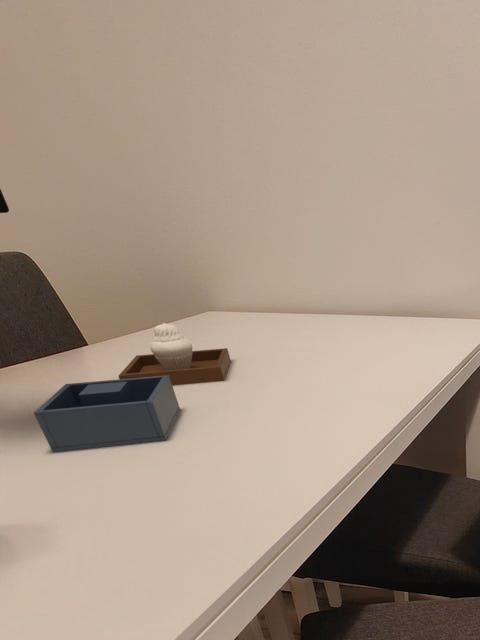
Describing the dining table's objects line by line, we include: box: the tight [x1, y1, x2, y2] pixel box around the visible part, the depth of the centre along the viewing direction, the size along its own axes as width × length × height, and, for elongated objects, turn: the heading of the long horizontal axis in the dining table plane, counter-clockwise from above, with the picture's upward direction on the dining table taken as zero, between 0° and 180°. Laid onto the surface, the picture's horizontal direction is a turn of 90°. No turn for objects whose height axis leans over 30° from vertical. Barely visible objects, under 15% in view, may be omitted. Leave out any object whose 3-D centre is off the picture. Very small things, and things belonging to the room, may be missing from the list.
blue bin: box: [33, 375, 181, 454], centre depth 72 cm, size 12×12×5 cm
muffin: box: [149, 322, 193, 370], centre depth 92 cm, size 6×6×7 cm
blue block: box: [79, 381, 135, 407], centre depth 72 cm, size 4×4×4 cm
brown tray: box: [118, 347, 232, 386], centre depth 94 cm, size 15×14×2 cm
